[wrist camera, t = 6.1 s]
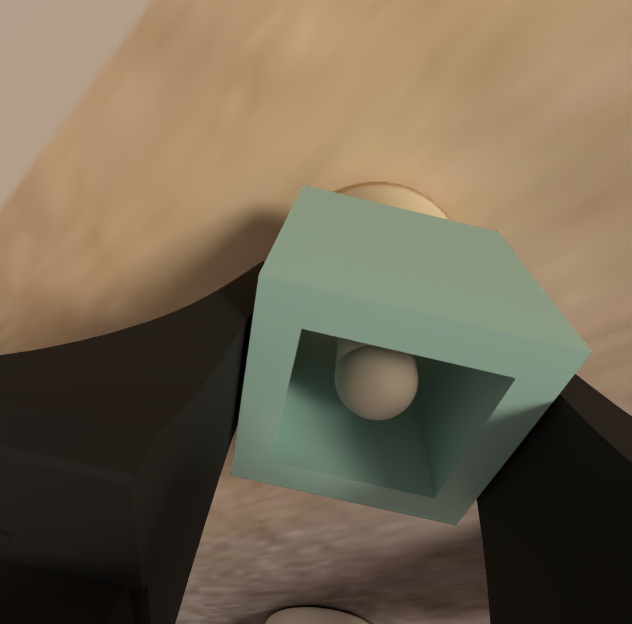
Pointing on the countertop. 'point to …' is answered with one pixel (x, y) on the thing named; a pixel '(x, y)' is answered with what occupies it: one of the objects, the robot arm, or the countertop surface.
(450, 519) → the green hollow cube
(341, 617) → the fruit juice
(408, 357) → the spindle
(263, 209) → the countertop surface
